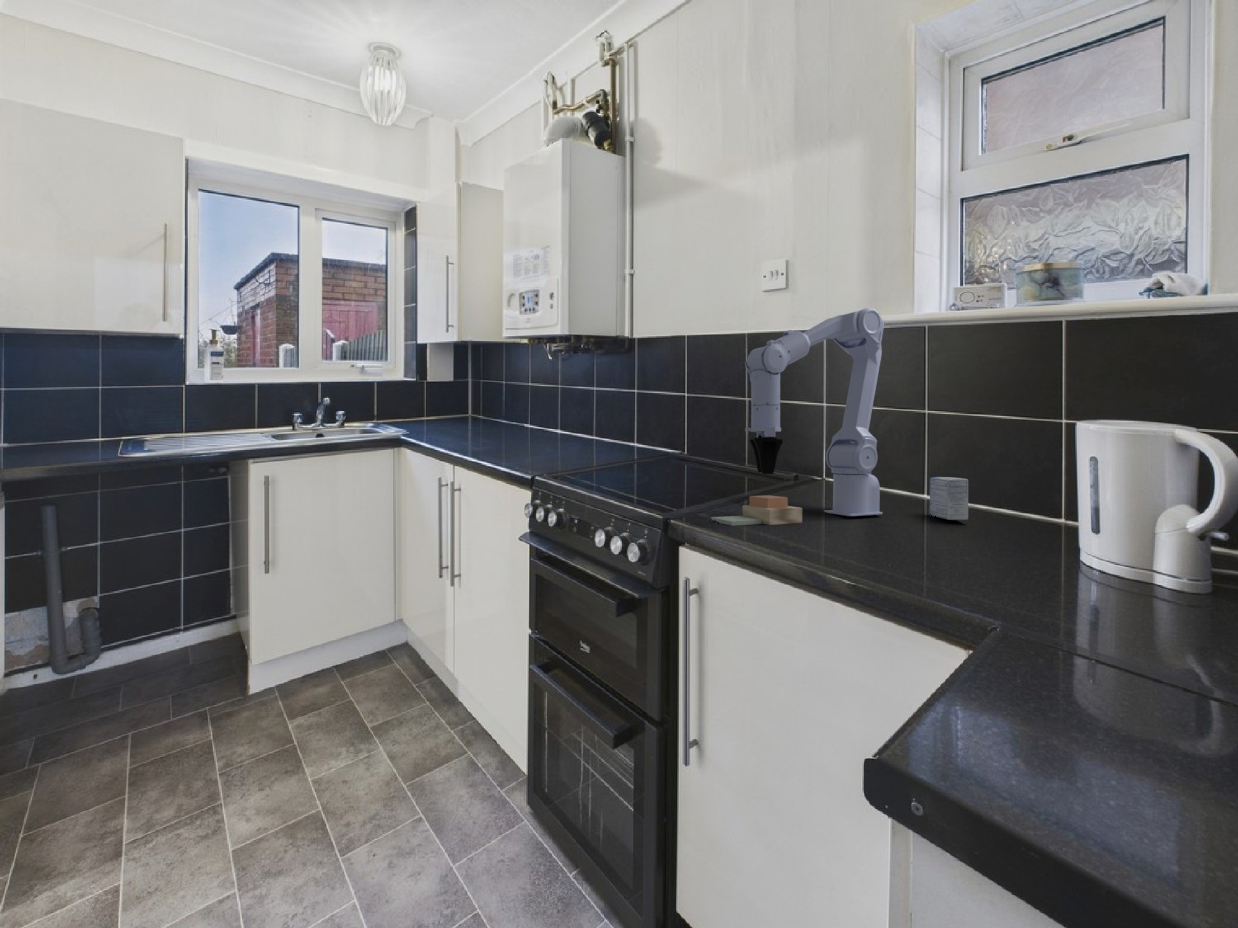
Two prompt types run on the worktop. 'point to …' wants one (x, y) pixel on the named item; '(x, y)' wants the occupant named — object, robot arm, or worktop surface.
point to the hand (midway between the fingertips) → (765, 473)
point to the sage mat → (737, 520)
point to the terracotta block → (768, 501)
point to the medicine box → (949, 498)
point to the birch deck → (774, 514)
